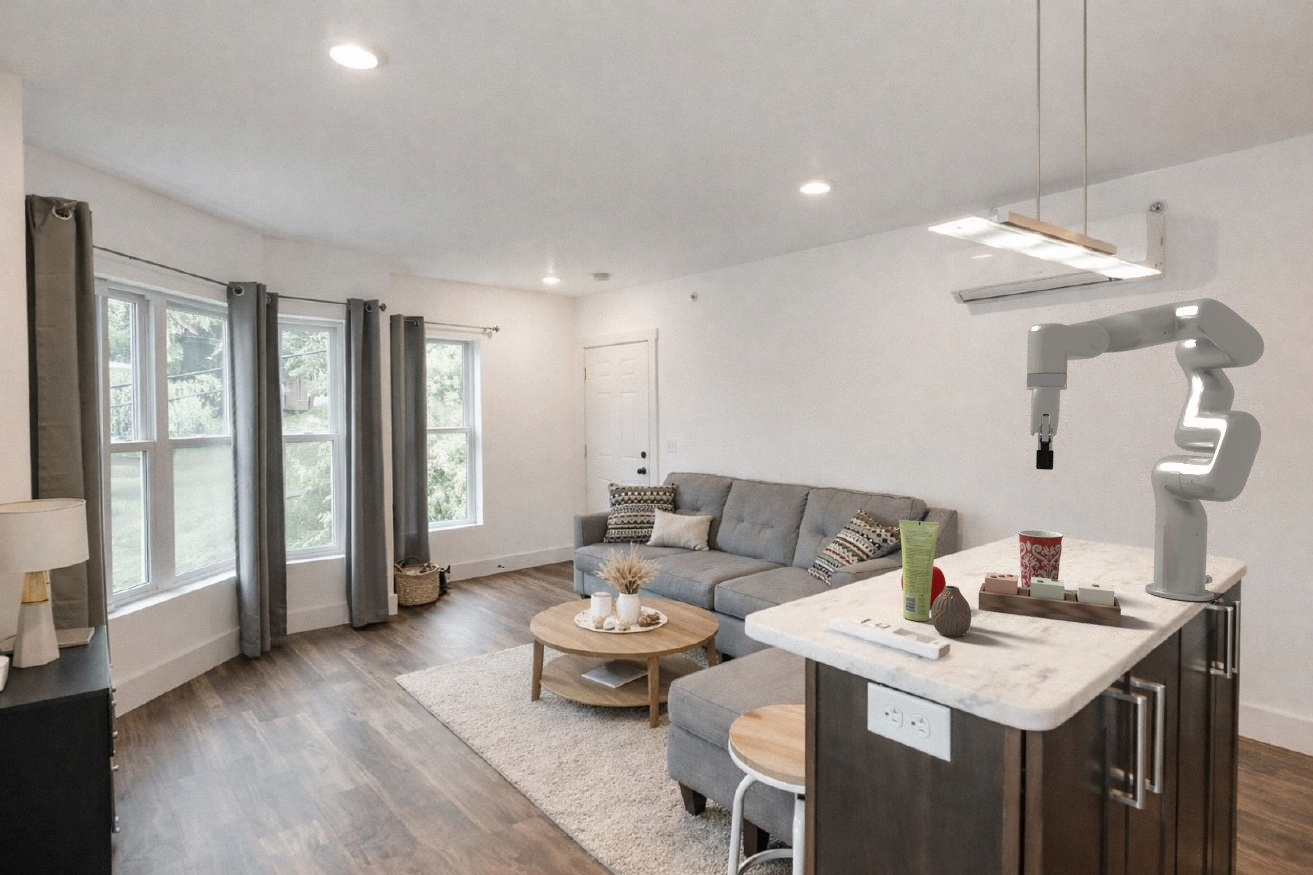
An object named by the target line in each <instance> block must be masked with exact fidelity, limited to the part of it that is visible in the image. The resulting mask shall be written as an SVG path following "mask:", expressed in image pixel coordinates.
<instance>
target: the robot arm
mask: <svg viewBox="0 0 1313 875" xmlns="http://www.w3.org/2000/svg"><path fill="white" fill-rule="evenodd" d="M1174 342H1176V345H1175V349H1174V350H1175V351H1174V355H1175V358H1176V361H1177V364H1178V365H1179V366H1180V367H1181V370H1182V371H1183V373H1184V375H1185V378H1186V381H1187V385H1188V388H1187V393H1186V397H1185V401H1184V403H1183V405H1182V409H1181V411H1180V414H1179V418H1178V420H1177V422H1176V426H1175V429H1174V433H1173V439H1174V444H1175V445H1176V446H1177V447H1178V448H1180V449H1182V450H1183V451H1187V452H1193V453H1201V454H1204V453H1205V454H1213V455H1212V456H1201V455H1192V454H1191V455H1187V454H1172V455H1167V456H1164V457H1162V458H1160V459H1158V460H1157V461H1155V463H1154V464H1153V466H1152V469H1151V472H1150V473H1151V474H1150V480H1151V486H1152V491H1153V494H1154V503H1155V504H1154V506H1155V520H1154V521H1155V522H1154V554H1153V583H1152V582H1151V583H1148V584H1145V587H1144V590H1145V591H1146V592H1147V593H1149V594H1151V595H1153V596H1157V597H1162V598H1166V599H1171V600H1179V601H1188V602H1189V601H1190V602H1208V601H1212V600H1214V599H1215V594H1214V592H1212V591H1210V590H1208V589H1206V585H1208V584H1209V585H1210V584H1211V583H1212V582H1213V581H1214V579H1213V577H1212V576H1211V575H1209V574H1207V553H1208V552H1207V551H1208V550H1207V548H1208V547H1207V546H1208V524H1209V522H1208V521H1209V520H1208V516H1207V512H1206V509H1205V508H1204V506H1203V504H1202V502H1201V501H1207V502H1216V503H1218V502H1219V503H1228V502H1232V501H1234V500H1236V499H1237V498H1238V497H1239V496H1240V495H1241V494H1242V492H1243V491H1244V488H1245V487H1246V485H1247V483H1248V480H1249V476H1250V474H1251V471H1252V468H1253V466H1254V462H1255V459H1256V457H1257V453H1258V451H1259V448H1260V444H1261V441H1262V440H1261V439H1262V429H1261V425H1260V423H1259V420H1257V418H1256V416H1254V415H1253V414H1251V413H1249V412H1247V411H1242V410H1232V407H1233V406H1232V405H1233V403H1234V399H1235V388H1234V385H1233V383H1232V382H1231V380H1230V379H1229V378H1228V375H1226V373H1225V371H1224V370H1223V369H1230V368H1232V369H1233V368H1235V369H1236V368H1244V367H1249V366H1252V365H1254V364H1255V363H1257V362H1258V361H1259V360H1260V359H1261V358H1262V357H1263V355H1264V352H1265V342H1264V339H1263V336H1262V335H1261V334H1260V332H1259V331H1258V330H1257V329H1256V328H1255V327H1254V326H1253V325H1252V324H1250V323H1249V322H1248V321H1247V320H1245V319H1244V318H1242V316H1240V315H1239V314H1238V313H1237V312H1236V311H1235V310H1233V309H1231V308H1230V307H1229V306H1228V305H1226V304H1225V303H1223V302H1221V301H1219V300H1217V299H1215V298H1211V297H1210V298H1209V297H1203V298H1197V299H1191V300H1183V301H1178V302H1171V303H1165V304H1160V305H1156V306H1151V307H1145V308H1140V309H1135V310H1130V311H1124V312H1120V313H1116V314H1112V315H1108V316H1103V317H1100V318H1097V319H1091V320H1086V321H1082V322H1076V323H1072V324H1071V323H1070V324H1063V323H1057V322H1055V323H1054V322H1052V323H1051V322H1050V323H1048V322H1047V323H1040V324H1039V323H1038V324H1034V325H1031V326H1030V327H1029V329H1028V332H1027V354H1026V355H1027V359H1026V360H1027V361H1026V362H1027V363H1026V390H1027V391H1031V398H1030V399H1031V400H1030V428H1029V429H1030V435H1031V436H1032V437H1034V436H1035V434H1037V450H1036V455H1035V456H1036V457H1035V460H1036V463H1035V468H1036V470H1043V471H1044V470H1048V471H1049V470H1051V471H1052V470H1053V469H1054V456H1055V453H1054V450H1053V440H1054V437H1055V436H1056V435H1057V433H1058V427H1059V420H1060V408H1061V406H1060V404H1061V390H1063V391H1065V390H1068V361H1076V360H1077V361H1078V360H1088V359H1093V358H1097V357H1098V356H1101V355H1102V354H1105V353H1122V352H1129V351H1130V352H1131V351H1136V350H1140V349H1145V348H1150V347H1154V346H1160V345H1164V344H1169V343H1174Z"/></svg>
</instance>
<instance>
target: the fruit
mask: <svg viewBox="0 0 1313 875" xmlns="http://www.w3.org/2000/svg"><path fill="white" fill-rule="evenodd" d="M943 572H944V571H942V570H941V568H939V567H938V566H934V565H933V574H932V586H931V599H930V606H932V605H933V603H934V601H935V599H936V598H937V597H938V596H939V594H940V593H941V592H942V591H943V589H944V587H945V586H947V582H946V577H945V574H944V573H943ZM900 580H901V581H900V582H901V590H902V591H903V573H902V574H901V579H900Z"/></svg>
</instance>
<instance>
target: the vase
mask: <svg viewBox="0 0 1313 875" xmlns="http://www.w3.org/2000/svg"><path fill="white" fill-rule="evenodd" d="M930 611H931V612H930V616H931V622H932V625H933V627H934V628H935V630H936V631H937V633H939V634H940V635H942V636H945V637H948V638H949V637H950V638H960V637H963V636H964V635H965V634H966V633H967V632H968V631H969V629H970V627H971V625H972V624H971V623H972V610H971V607H970V604H969V602H968V601H967V599H966V598H965V597H964V595H963V594H962V592H961V590H960V588H959V587H958V586H954V585H946V586H945V587H944V589H943V591H942V592H941V593H940V594H939V596H938V597H937V598H936V599H935V601H934V603H933V605H931V608H930Z"/></svg>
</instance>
